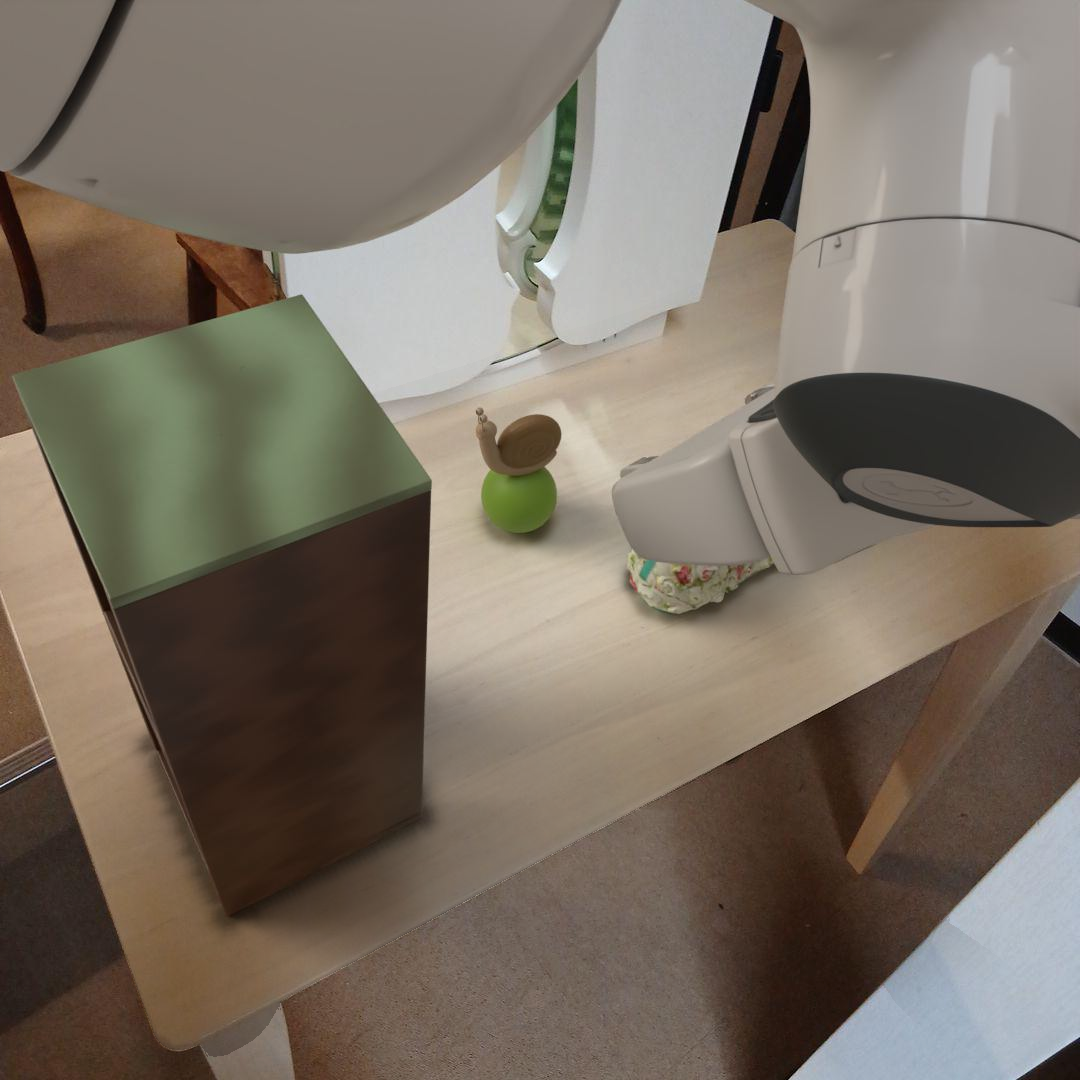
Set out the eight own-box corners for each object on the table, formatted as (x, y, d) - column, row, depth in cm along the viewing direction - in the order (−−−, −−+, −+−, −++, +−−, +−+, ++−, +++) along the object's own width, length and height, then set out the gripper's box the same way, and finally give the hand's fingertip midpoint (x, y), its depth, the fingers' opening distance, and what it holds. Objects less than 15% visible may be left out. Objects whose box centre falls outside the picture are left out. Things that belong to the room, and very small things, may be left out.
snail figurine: (455, 504, 79) (462, 384, 69) (535, 484, 81) (552, 365, 71) (482, 559, 76) (493, 442, 66) (564, 537, 78) (586, 420, 68)
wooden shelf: (226, 917, 59) (109, 599, 35) (153, 744, 64) (11, 374, 41) (422, 818, 63) (432, 479, 40) (336, 665, 69) (302, 293, 46)
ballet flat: (895, 489, 84) (933, 418, 78) (695, 665, 72) (723, 596, 66) (801, 423, 88) (830, 350, 82) (596, 580, 76) (613, 508, 70)
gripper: (1024, 263, 49) (804, 315, 61) (722, 448, 40) (530, 467, 51) (1061, 389, 51) (839, 416, 62) (778, 597, 41) (579, 583, 53)
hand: (697, 441), depth 57 cm, fingers open, 8 cm apart
